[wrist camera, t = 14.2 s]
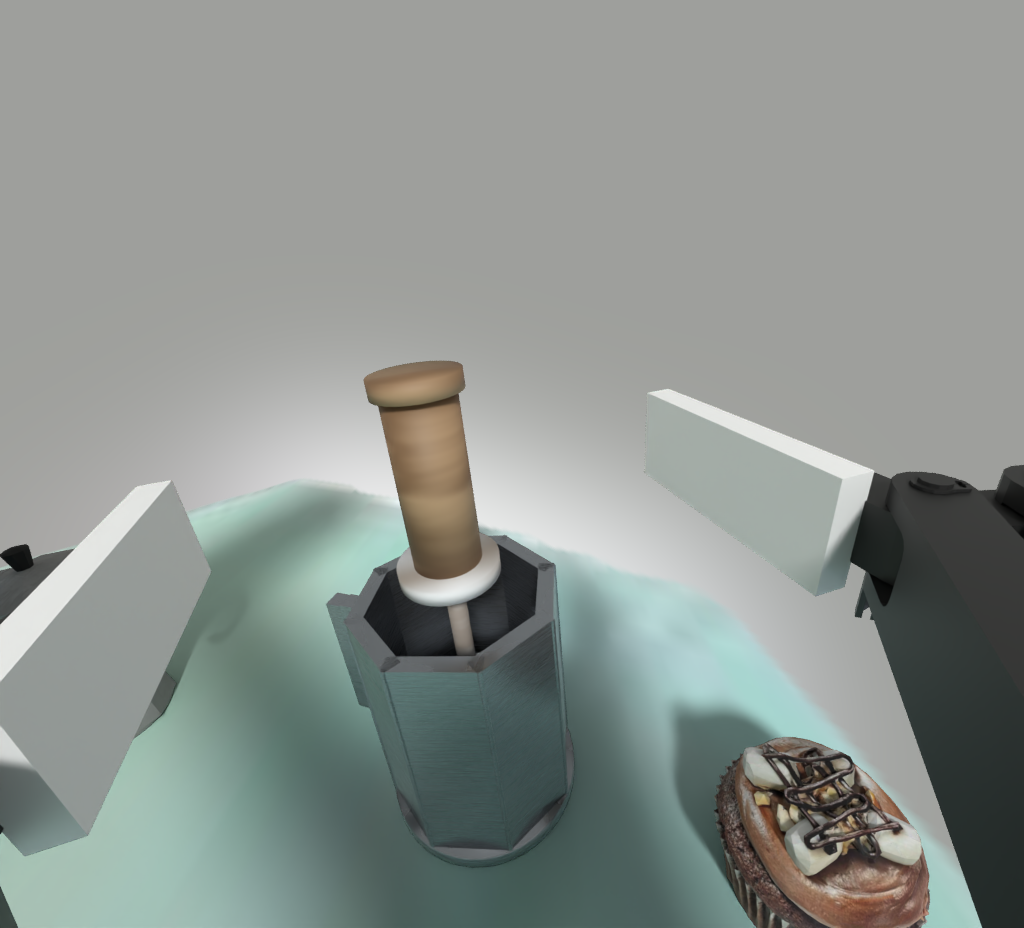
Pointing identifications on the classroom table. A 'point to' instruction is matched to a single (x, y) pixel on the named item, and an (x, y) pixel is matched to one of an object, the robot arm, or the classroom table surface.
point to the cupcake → (817, 842)
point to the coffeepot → (26, 574)
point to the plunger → (434, 490)
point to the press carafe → (467, 707)
